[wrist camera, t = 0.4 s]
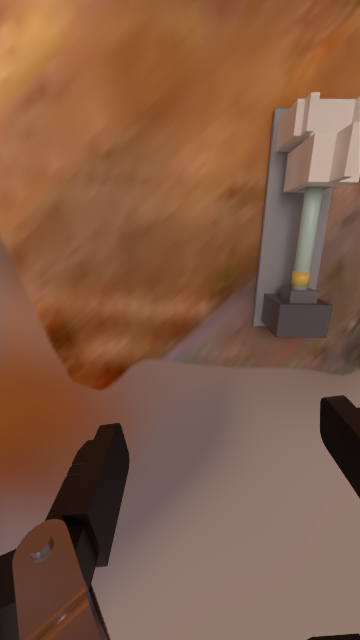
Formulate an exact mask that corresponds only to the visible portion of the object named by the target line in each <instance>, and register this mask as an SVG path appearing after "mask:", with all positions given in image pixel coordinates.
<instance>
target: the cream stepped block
mask: <svg viewBox="0 0 360 640" xmlns="http://www.w3.org/2000/svg"><path fill="white" fill-rule="evenodd" d="M359 177H360V122H353V123H352V124H350V125H348V126H347V127H345V128H344V129H342V130H341V131H339V132H338V133H314V134H313V135H312V136H310V137H309V138H308V139H306V140H305V141H304V142H303V143H301V144H300V145H299V146H297V147H296V148H295V149H294V150H292V151H291V152H290V153H288V158H287V166H286V174H285V183H284V191H283V192H299V193H305V187H307V186H324V187H323V193H325V192H328V191H331V190H334V189H338V188H341V187H344V186H347V185H351V184H354V183H357V182H359Z"/></svg>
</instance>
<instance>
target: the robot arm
mask: <svg viewBox="0 0 360 640" xmlns="http://www.w3.org/2000/svg"><path fill="white" fill-rule="evenodd" d="M320 433H321V438H322V440H323V443H324V445H325V447H326V448H327V450H328V451H329V453H330V454H331V456H332V457H333V459H334V460H335V462H336V463H337V465H338V466H339V468H340V469H341V471H342V472H343V474H344V475H345V477H346V478H347V480H348V481H349V483H350V484H351V486H352V487H353V489H354V490H355V492H356V493H357V495H358V496H359V498H360V408H356V407H355V406H354V405H353V404H352V403H351V402H350V401H349V400H348V399H347V398H346V397H345V396H343V395H341V396H333V397H325V398H322V399H321V402H320ZM128 470H129V452H128V449H127V445H126V442H125V438H124V434H123V431H122V427H121V425H120V424H119V423H116V424H108V425H101V426H100V427H99V428H98V431H97V433H96V435H95V438H94V440H88V441H87V442H86V443H85V444H84V445H83V446H82V447H81V448H80V449H79V451H78V452H77V454H76V456H75V458H74V460H73V463H72V466H71V467H70V469H69V471H68V473H67V477H65V479H64V482H63V484H62V486H61V488H60V490H59V492H58V494H57V496H56V499H55V501H54V503H53V505H52V507H51V509H50V512H49V513H48V516H47V518H46V520H45V521H44V522H42V523H40V524H39V525H37V526H36V527H34V528H33V529H32V530H31V531H30V532H28V533H27V535H26V536H25V537H24V538H23V539H22V541H21V542H20V544H19V545H18V547H17V549H15V550H13V551H10V552H8V553H6V554H4V555H1V556H0V640H110V637H109V634H108V631H107V628H106V625H105V622H104V619H103V616H102V613H101V610H100V607H99V604H98V602H97V598H96V595H95V592H94V590H93V587H92V584H91V582H92V578H93V574H94V570H95V567H103V566H107V565H108V560H109V556H110V552H111V547H112V543H113V538H114V533H115V529H116V524H117V520H118V515H119V510H120V506H121V502H122V497H123V493H124V488H125V484H126V479H127V475H128ZM308 640H360V635H359V634H347V635H334V636H321V637H311V638H310V639H308Z"/></svg>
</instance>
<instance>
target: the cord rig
mask: <svg viewBox="0 0 360 640" xmlns="http://www.w3.org/2000/svg"><path fill="white" fill-rule="evenodd" d="M319 97H320V92H311V93H310V94H309V95H308V96H307V98H306V99H297V101H296V102H295V103H294V104H293V105H292V106H291V108H276V109H275V110H274V111H273V120H272V130H271V140H270V150H269V160H268V170H267V180H266V190H265V200H264V210H263V220H262V230H261V240H260V251H259V261H258V271H257V281H256V291H255V301H254V311H253V321H252V325H253V326H266V327H267V328H268V329H269V330H270V331H271V332H272V333H273V334H274V335H275V336H276V337H301V338H326V337H327V332H328V327H329V321H330V316H331V311H332V306H333V305H331V304H328V303H326V302H324V301H322V300H320V299H318V291H316V286H317V280H318V274H319V268H320V262H321V256H322V251H323V245H324V239H325V233H326V227H327V221H328V215H329V210H330V204H331V198H332V192H333V190H331V191H328V192H325V193H323V187H324V186H307V187H305V193H299V192H283V191H284V183H285V174H286V166H287V158H288V153H290V152H291V151H292V150H294V149H295V148H296V147H297V146H299V145H300V144H301V143H303V142H304V141H305V140H306V139H308V138H309V137H310V136H312V135H313V134H314V133H338V132H339V131H341V130H342V129H344V128H345V127H347V126H348V125H350V124H352V123H353V122H360V96H359V97H358V98H357V99H319Z"/></svg>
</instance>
